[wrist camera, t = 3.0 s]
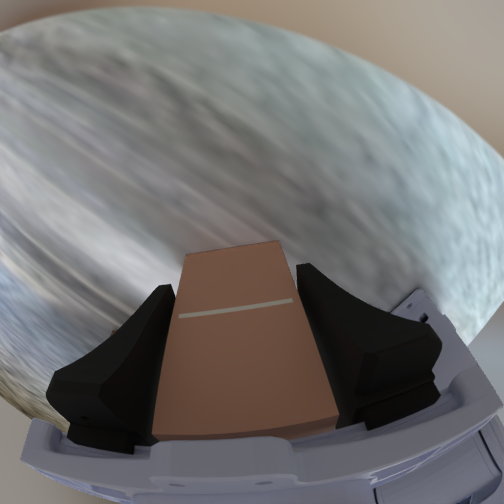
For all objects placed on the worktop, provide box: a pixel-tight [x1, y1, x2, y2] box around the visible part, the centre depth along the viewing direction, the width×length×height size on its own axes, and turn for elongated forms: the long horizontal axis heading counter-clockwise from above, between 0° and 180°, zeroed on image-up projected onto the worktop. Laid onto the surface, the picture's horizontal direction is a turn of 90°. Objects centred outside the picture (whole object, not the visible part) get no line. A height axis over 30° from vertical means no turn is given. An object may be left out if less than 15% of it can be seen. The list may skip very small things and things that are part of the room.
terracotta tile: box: [152, 240, 339, 441], centre depth 11 cm, size 2×5×10 cm, turn 97°
